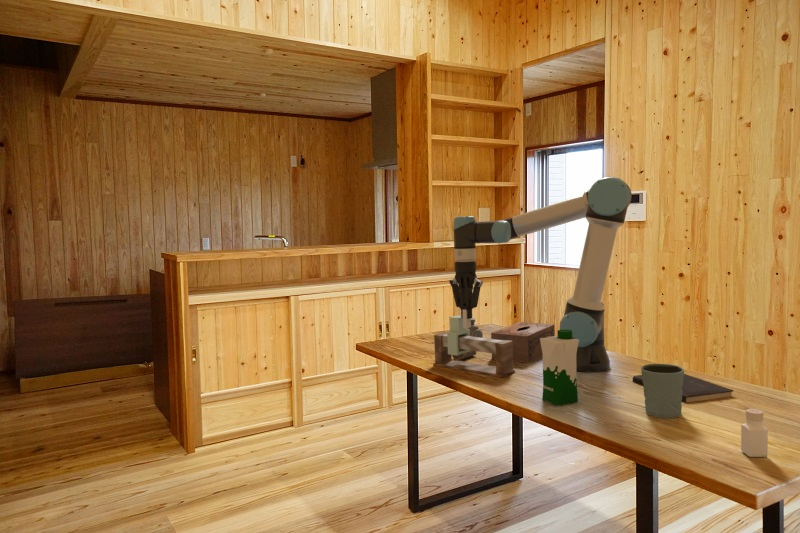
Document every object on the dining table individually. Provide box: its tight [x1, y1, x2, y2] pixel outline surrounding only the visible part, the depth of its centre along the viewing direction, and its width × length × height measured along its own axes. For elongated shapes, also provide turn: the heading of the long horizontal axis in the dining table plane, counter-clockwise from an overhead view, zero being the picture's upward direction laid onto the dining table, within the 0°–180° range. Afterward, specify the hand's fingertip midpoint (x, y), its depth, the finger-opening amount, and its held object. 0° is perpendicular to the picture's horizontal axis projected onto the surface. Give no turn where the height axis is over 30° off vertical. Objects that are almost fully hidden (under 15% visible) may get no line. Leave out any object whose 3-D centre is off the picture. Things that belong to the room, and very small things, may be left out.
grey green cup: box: [640, 363, 685, 419], centre depth 153 cm, size 10×10×12 cm
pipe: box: [452, 350, 477, 361], centre depth 226 cm, size 6×17×10 cm
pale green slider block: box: [446, 314, 470, 356], centre depth 209 cm, size 4×8×13 cm, turn 138°
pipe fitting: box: [467, 317, 484, 338], centre depth 252 cm, size 12×8×10 cm
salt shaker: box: [740, 408, 769, 458], centre depth 125 cm, size 4×4×10 cm
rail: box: [433, 331, 516, 378], centre depth 205 cm, size 29×8×11 cm, turn 48°
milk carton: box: [540, 329, 579, 407], centre depth 166 cm, size 9×9×20 cm
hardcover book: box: [632, 373, 734, 404], centre depth 174 cm, size 16×23×2 cm
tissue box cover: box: [490, 321, 555, 364], centre depth 225 cm, size 26×14×10 cm, turn 144°
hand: (466, 327), depth 206 cm, fingers closed
